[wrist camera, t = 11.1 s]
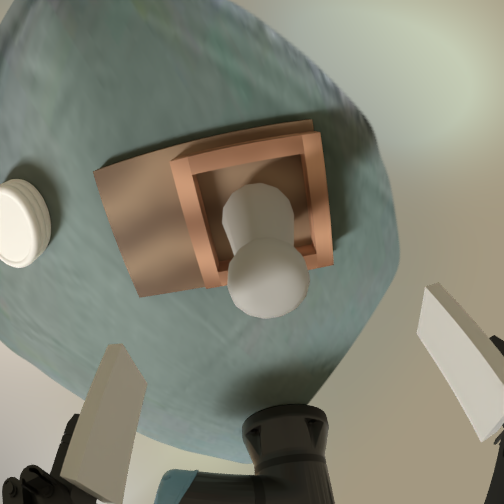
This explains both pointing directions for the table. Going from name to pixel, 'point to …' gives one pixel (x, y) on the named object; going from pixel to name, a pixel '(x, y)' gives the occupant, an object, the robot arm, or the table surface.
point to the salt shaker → (263, 252)
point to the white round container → (22, 223)
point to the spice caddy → (211, 202)
